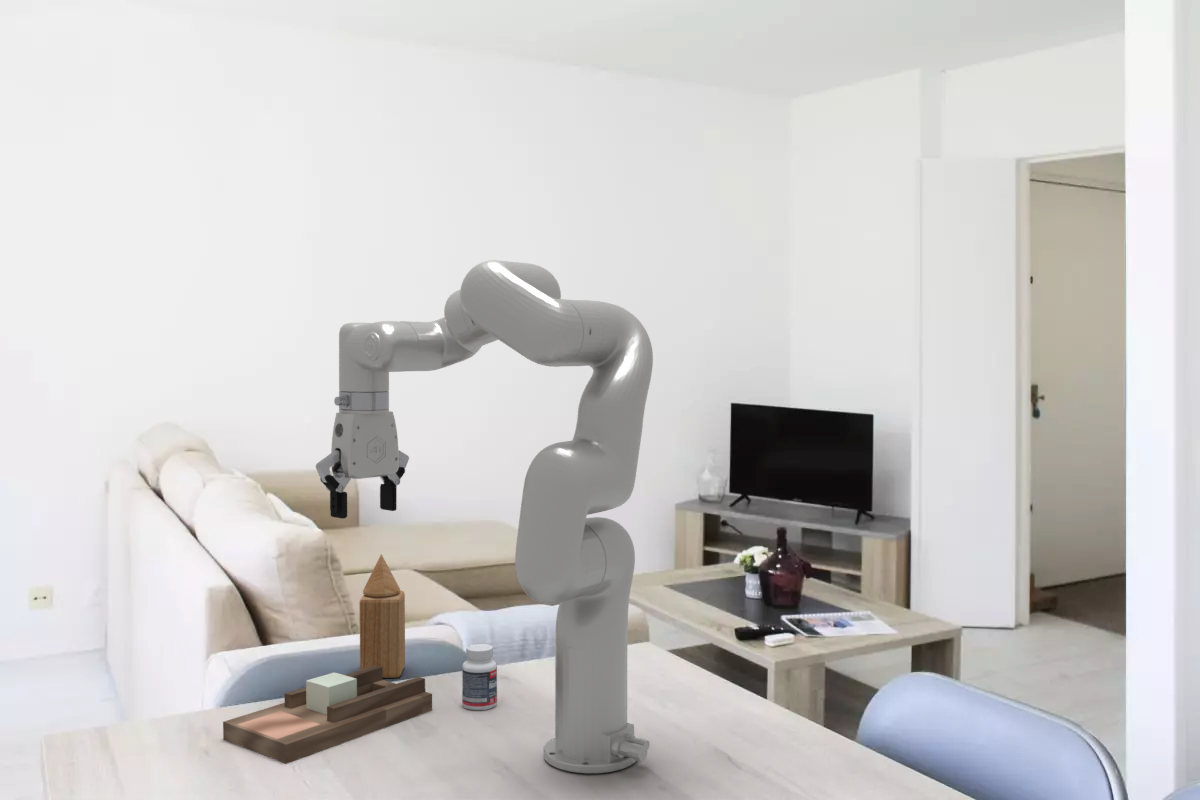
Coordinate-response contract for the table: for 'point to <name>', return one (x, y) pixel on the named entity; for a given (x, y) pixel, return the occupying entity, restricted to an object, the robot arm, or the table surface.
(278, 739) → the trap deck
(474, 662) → the pill bottle
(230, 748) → the table surface
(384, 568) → the decorative item
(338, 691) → the sage block
